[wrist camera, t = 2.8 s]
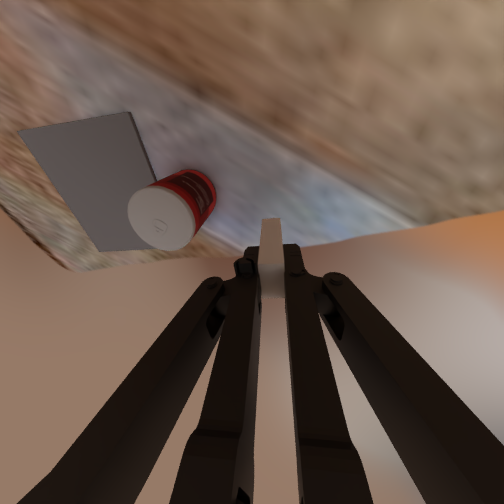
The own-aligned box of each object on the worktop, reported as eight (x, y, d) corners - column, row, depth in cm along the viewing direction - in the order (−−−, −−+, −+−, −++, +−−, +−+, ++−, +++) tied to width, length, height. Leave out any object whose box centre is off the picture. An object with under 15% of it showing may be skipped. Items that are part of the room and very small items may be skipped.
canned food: (171, 210, 32) (130, 242, 23) (171, 161, 27) (121, 177, 18) (214, 222, 32) (191, 258, 23) (220, 176, 28) (196, 198, 19)
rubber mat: (21, 131, 27) (16, 131, 26) (130, 112, 24) (127, 111, 24) (101, 250, 38) (99, 251, 38) (181, 245, 36) (180, 247, 35)
